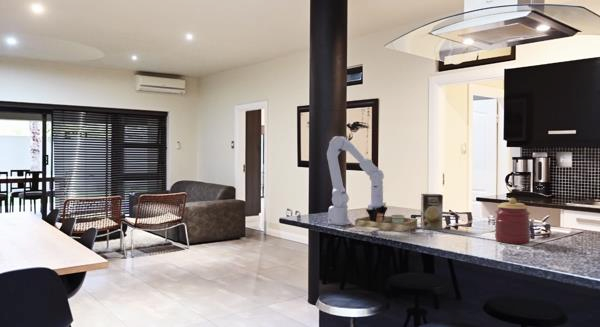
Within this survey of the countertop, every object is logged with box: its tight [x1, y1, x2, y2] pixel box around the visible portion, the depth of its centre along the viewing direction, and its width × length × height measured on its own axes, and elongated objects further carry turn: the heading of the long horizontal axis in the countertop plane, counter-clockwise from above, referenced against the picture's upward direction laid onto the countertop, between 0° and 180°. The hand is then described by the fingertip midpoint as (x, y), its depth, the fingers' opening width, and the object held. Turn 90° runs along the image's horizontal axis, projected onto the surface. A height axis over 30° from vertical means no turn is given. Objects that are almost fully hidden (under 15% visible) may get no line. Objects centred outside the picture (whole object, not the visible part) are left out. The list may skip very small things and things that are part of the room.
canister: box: [494, 197, 531, 245], centre depth 188 cm, size 13×13×18 cm
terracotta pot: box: [376, 213, 383, 223], centre depth 226 cm, size 6×6×6 cm
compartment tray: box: [354, 215, 418, 232], centre depth 224 cm, size 25×15×4 cm, turn 52°
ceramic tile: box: [347, 226, 381, 233], centre depth 216 cm, size 12×9×1 cm
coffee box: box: [420, 193, 444, 230], centre depth 219 cm, size 9×6×16 cm
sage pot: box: [391, 214, 405, 225], centre depth 220 cm, size 6×6×6 cm
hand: (377, 222), depth 226 cm, fingers open, 7 cm apart
